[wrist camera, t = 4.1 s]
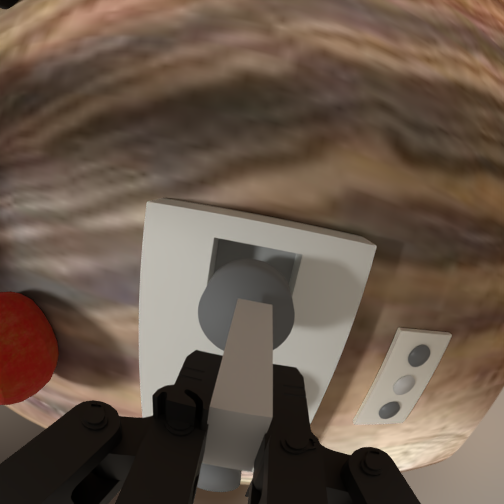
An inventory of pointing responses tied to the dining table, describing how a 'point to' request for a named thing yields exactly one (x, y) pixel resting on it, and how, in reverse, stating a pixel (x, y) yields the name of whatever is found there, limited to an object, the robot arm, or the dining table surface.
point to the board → (234, 248)
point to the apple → (24, 348)
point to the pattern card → (402, 376)
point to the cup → (7, 3)
